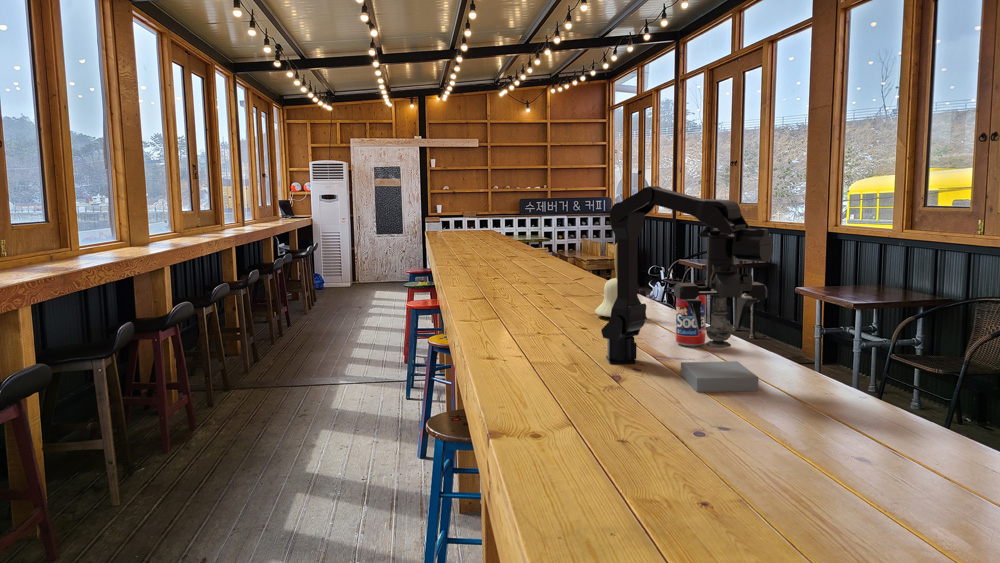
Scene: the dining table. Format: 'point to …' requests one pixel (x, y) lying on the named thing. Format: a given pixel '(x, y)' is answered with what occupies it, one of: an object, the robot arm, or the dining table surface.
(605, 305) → the handbell
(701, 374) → the riser
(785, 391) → the dining table surface
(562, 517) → the dining table surface
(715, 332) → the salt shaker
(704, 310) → the soda can
